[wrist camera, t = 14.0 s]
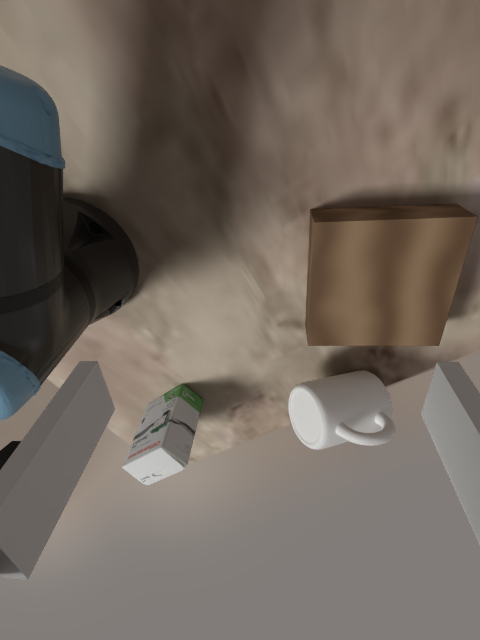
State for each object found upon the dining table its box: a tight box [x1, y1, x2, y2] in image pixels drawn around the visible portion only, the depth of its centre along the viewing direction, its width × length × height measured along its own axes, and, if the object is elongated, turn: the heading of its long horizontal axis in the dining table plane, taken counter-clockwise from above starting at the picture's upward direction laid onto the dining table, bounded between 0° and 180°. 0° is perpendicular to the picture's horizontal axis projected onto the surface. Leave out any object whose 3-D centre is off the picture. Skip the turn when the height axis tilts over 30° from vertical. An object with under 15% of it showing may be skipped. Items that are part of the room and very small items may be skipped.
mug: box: [289, 370, 396, 450], centre depth 44 cm, size 12×8×10 cm
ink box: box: [122, 384, 203, 485], centre depth 52 cm, size 9×5×12 cm, turn 130°
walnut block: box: [305, 204, 477, 346], centre depth 40 cm, size 15×15×5 cm
